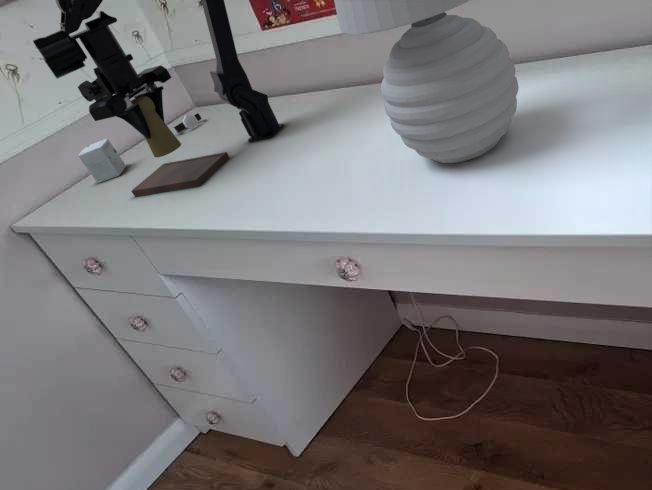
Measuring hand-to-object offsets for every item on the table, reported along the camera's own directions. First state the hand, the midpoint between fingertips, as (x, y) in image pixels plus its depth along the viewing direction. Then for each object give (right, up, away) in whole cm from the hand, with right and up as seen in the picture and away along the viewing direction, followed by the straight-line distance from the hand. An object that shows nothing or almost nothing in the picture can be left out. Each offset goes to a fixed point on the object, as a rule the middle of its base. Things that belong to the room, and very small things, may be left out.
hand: (156, 133), depth 133 cm
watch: (-8, +13, +35) cm, 38 cm away
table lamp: (+64, -11, -25) cm, 69 cm away
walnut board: (+3, -7, +6) cm, 10 cm away
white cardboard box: (-22, -2, +23) cm, 32 cm away
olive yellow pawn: (+1, -3, +2) cm, 4 cm away
